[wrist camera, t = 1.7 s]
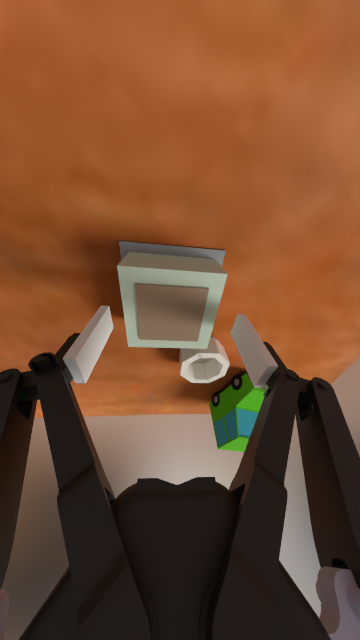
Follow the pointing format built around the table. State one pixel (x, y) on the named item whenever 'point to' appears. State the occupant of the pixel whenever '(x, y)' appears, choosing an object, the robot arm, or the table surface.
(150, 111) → the table surface
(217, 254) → the mat
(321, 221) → the table surface
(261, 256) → the table surface
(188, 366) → the bowl
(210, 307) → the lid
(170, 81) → the table surface
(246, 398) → the toy car
